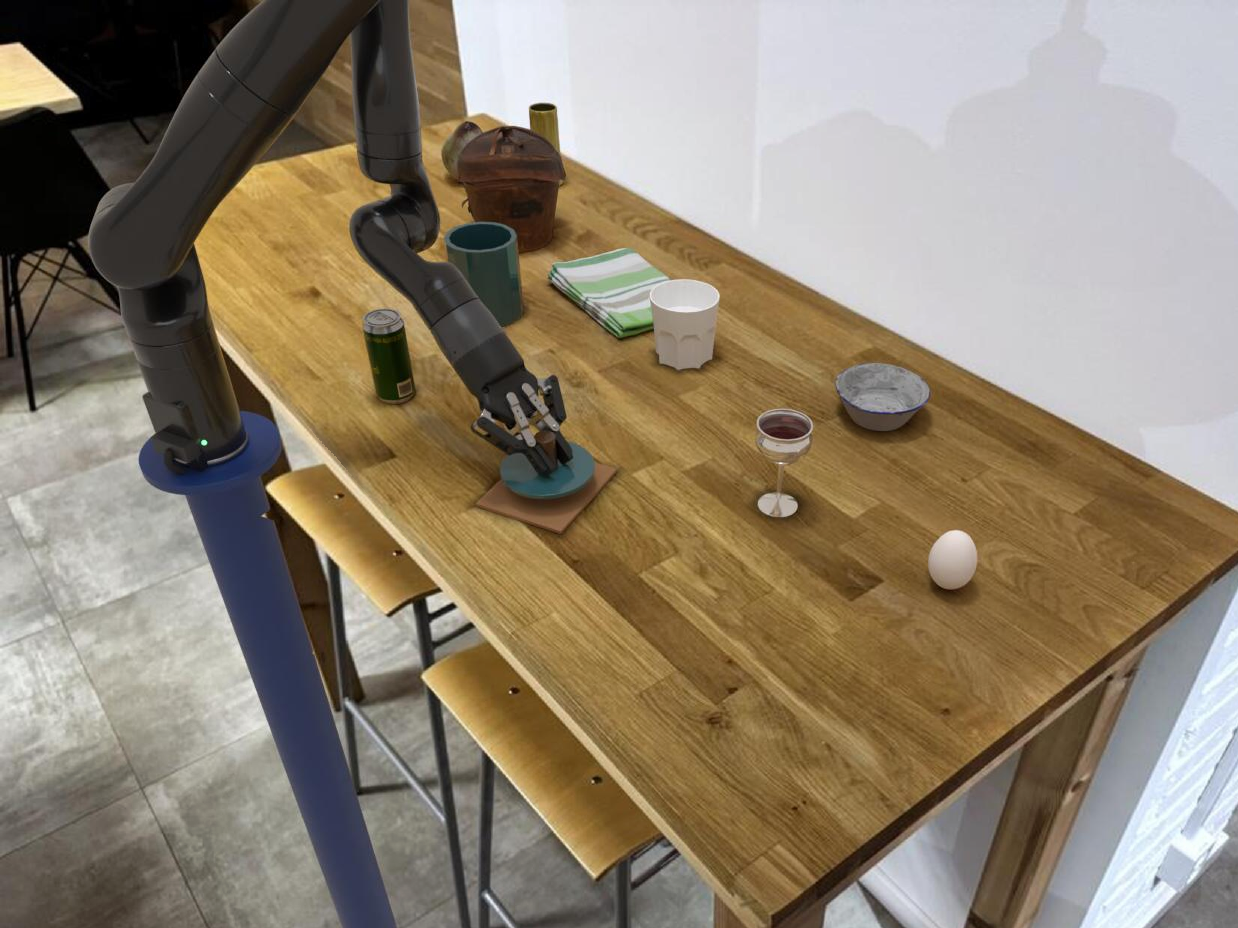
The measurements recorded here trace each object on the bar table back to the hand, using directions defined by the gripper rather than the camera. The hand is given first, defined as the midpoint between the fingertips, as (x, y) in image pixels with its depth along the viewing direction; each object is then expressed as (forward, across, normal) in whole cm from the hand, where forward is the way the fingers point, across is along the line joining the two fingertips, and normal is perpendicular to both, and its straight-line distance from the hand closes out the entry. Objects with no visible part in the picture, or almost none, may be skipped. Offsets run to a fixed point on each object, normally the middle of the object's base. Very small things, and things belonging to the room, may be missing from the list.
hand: (559, 466), depth 131 cm
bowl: (+19, +41, -12) cm, 46 cm away
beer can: (-20, +2, +27) cm, 34 cm away
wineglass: (+19, +15, -12) cm, 27 cm away
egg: (+36, +15, -29) cm, 48 cm away
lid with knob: (0, 0, +2) cm, 2 cm away
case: (-37, +50, +43) cm, 75 cm away
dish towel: (-16, +45, +22) cm, 52 cm away
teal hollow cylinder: (-26, +28, +32) cm, 49 cm away
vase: (-46, +72, +52) cm, 100 cm away
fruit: (-55, +63, +61) cm, 103 cm away
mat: (+1, 0, +4) cm, 5 cm away
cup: (-3, +36, +9) cm, 38 cm away
